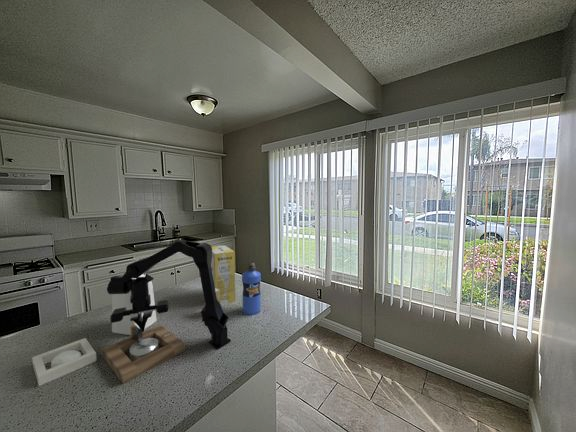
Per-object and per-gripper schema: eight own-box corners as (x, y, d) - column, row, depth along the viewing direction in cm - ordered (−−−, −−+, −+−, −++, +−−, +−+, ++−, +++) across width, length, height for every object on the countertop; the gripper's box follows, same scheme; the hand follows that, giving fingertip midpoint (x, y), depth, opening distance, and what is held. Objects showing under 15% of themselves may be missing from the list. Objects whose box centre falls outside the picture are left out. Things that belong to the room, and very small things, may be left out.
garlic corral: (96, 360, 82) (96, 352, 82) (38, 386, 71) (37, 377, 71) (85, 345, 91) (85, 337, 91) (32, 365, 80) (32, 357, 80)
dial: (163, 351, 87) (162, 332, 87) (136, 365, 80) (135, 344, 79) (145, 338, 95) (145, 320, 95) (120, 350, 88) (119, 331, 87)
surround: (185, 350, 88) (184, 342, 88) (122, 384, 72) (122, 374, 72) (160, 331, 100) (160, 324, 100) (102, 356, 85) (102, 348, 84)
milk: (135, 335, 97) (131, 274, 95) (111, 332, 100) (108, 272, 97) (156, 320, 109) (154, 265, 107) (135, 318, 111) (132, 264, 109)
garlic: (87, 357, 85) (87, 347, 84) (70, 371, 78) (69, 360, 78) (65, 356, 85) (65, 346, 84) (46, 370, 78) (45, 359, 78)
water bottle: (263, 313, 117) (262, 263, 114) (244, 316, 113) (243, 265, 111) (258, 305, 125) (258, 259, 123) (240, 308, 122) (240, 260, 120)
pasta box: (208, 293, 139) (207, 247, 137) (225, 290, 145) (224, 245, 142) (216, 305, 124) (214, 253, 122) (235, 301, 129) (234, 251, 127)
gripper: (168, 281, 102) (170, 316, 103) (116, 289, 94) (119, 326, 96) (166, 291, 91) (169, 329, 93) (108, 301, 84) (112, 342, 85)
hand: (143, 331), depth 92 cm, fingers closed
